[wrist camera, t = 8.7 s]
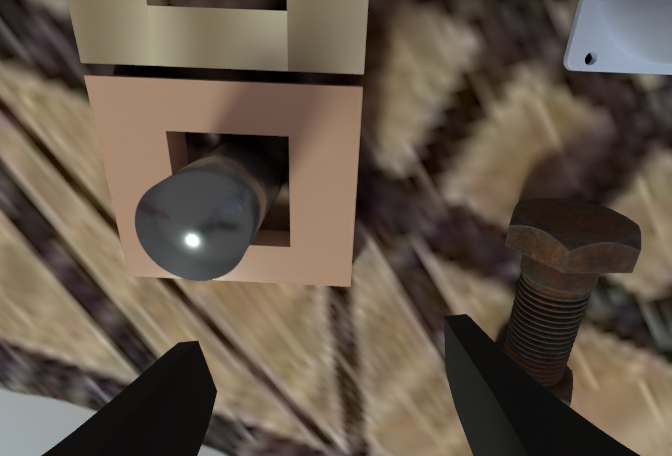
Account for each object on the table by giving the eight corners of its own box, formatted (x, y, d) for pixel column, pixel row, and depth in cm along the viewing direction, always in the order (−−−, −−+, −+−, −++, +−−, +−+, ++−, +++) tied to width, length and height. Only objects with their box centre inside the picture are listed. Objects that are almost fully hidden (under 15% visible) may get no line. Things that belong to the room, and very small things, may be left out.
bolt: (481, 380, 27) (522, 189, 21) (559, 410, 25) (633, 205, 18) (462, 445, 23) (505, 229, 16) (554, 490, 20) (649, 257, 14)
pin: (279, 141, 19) (243, 180, 12) (281, 214, 20) (250, 283, 14) (201, 138, 19) (124, 175, 12) (209, 211, 20) (145, 278, 14)
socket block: (361, 85, 17) (363, 87, 15) (350, 268, 21) (350, 286, 19) (111, 74, 17) (84, 75, 16) (147, 258, 21) (128, 275, 20)
